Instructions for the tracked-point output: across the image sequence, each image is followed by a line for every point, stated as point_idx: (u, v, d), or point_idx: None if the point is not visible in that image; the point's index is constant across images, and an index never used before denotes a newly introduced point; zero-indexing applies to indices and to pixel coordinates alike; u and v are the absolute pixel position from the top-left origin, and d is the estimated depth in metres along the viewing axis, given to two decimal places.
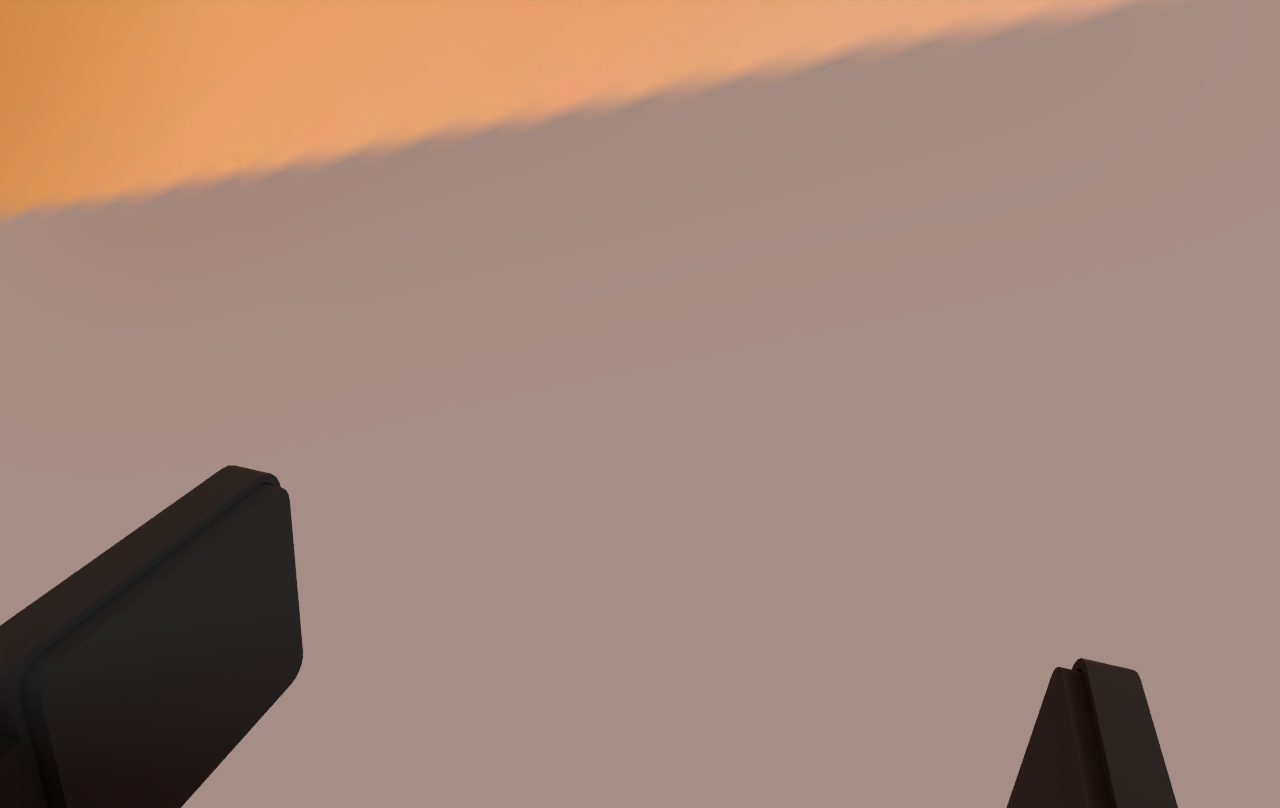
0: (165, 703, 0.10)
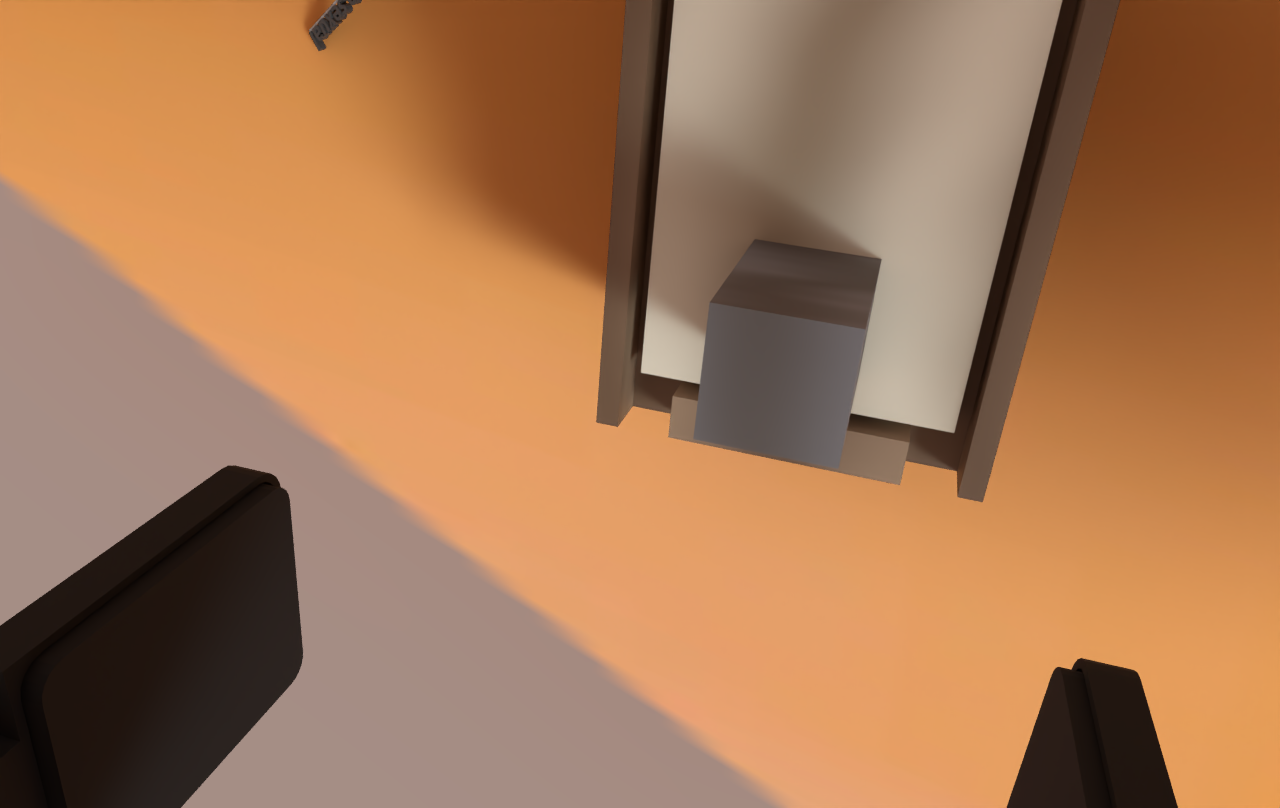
0: (165, 703, 0.10)
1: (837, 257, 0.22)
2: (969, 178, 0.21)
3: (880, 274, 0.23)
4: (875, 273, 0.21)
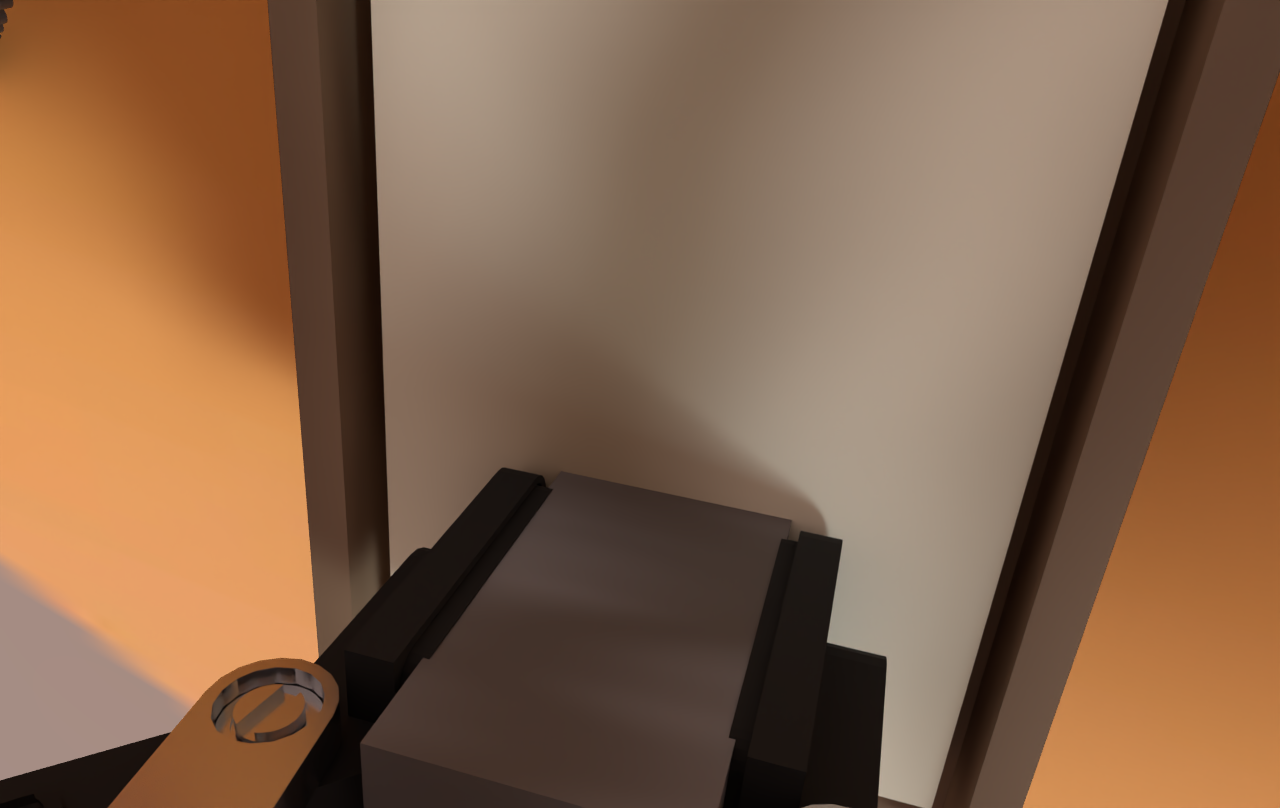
0: None
1: (706, 521, 0.12)
2: (955, 390, 0.11)
3: None
4: (769, 574, 0.11)
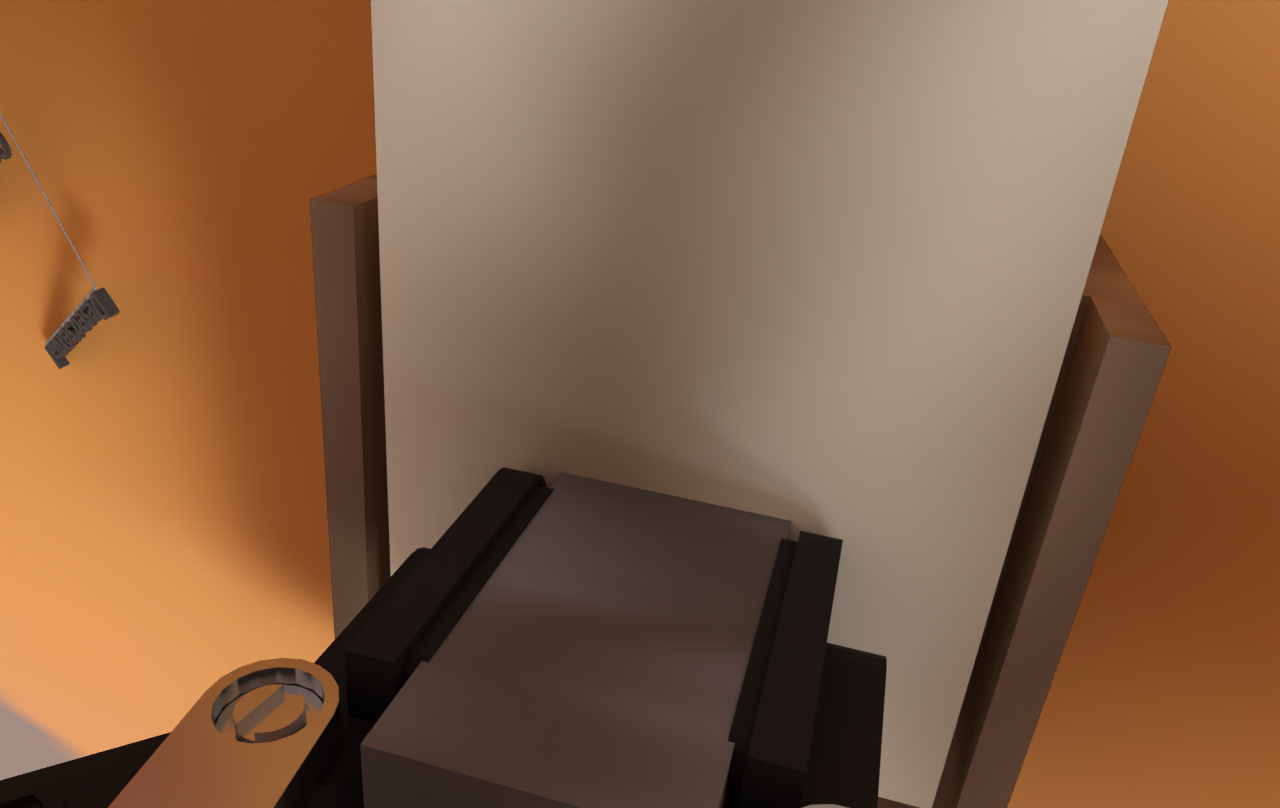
0: None
1: (706, 523, 0.12)
2: (955, 390, 0.11)
3: None
4: (770, 574, 0.11)
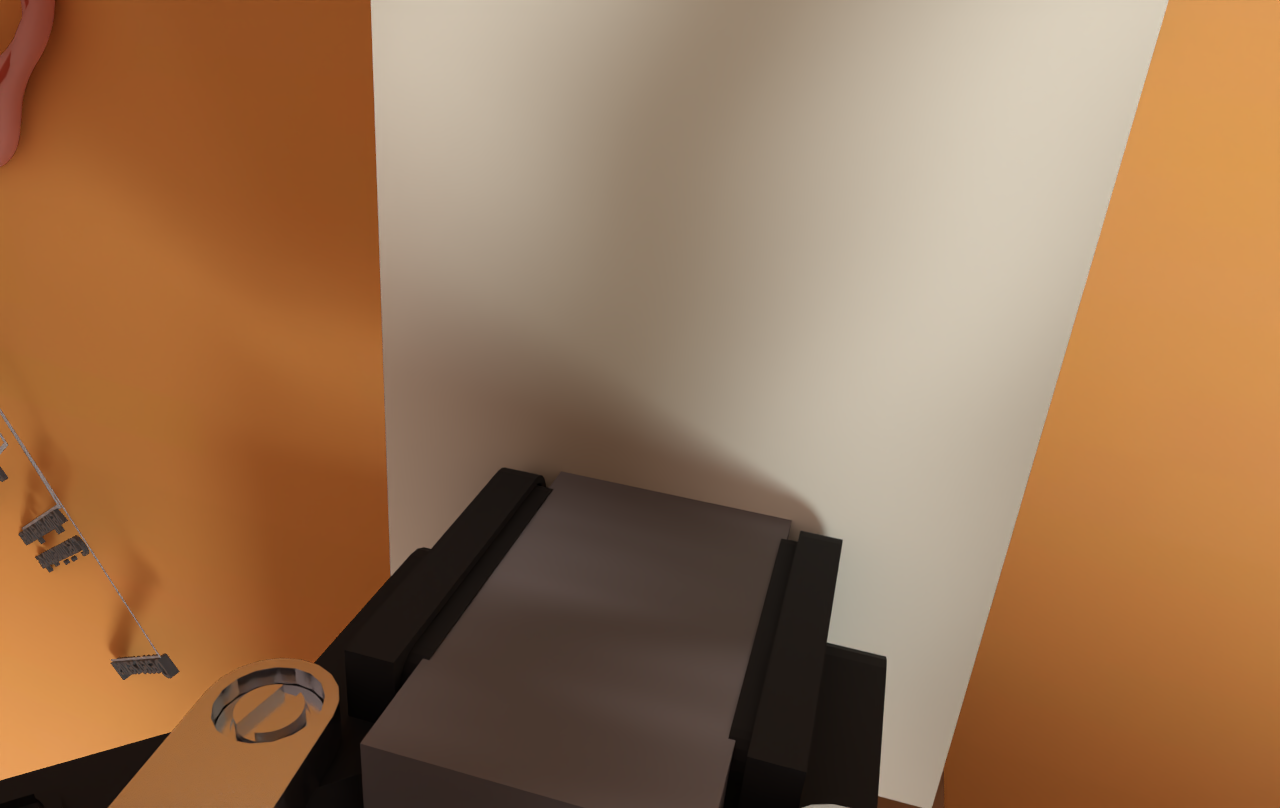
0: None
1: (706, 521, 0.12)
2: (956, 389, 0.11)
3: None
4: (770, 574, 0.11)
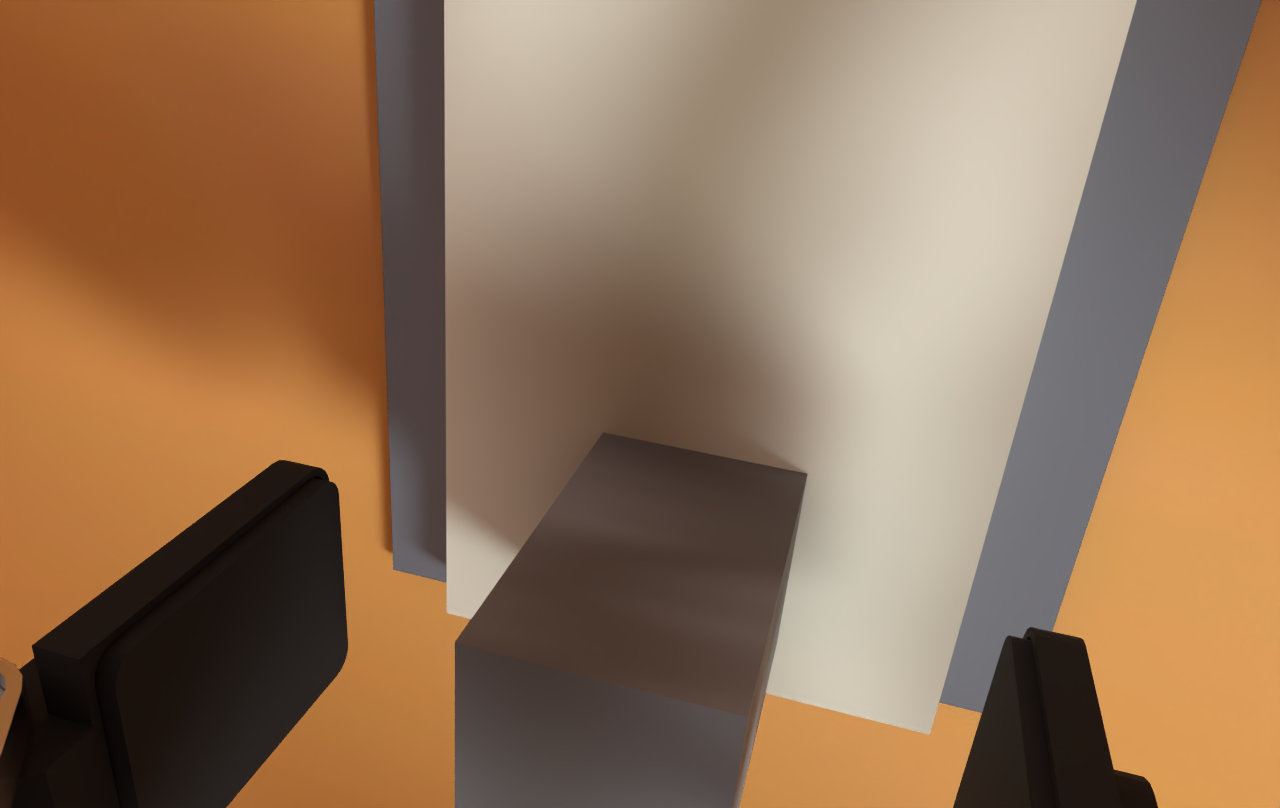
0: (224, 692, 0.10)
1: (733, 474, 0.13)
2: (950, 356, 0.12)
3: (806, 496, 0.14)
4: (790, 517, 0.12)
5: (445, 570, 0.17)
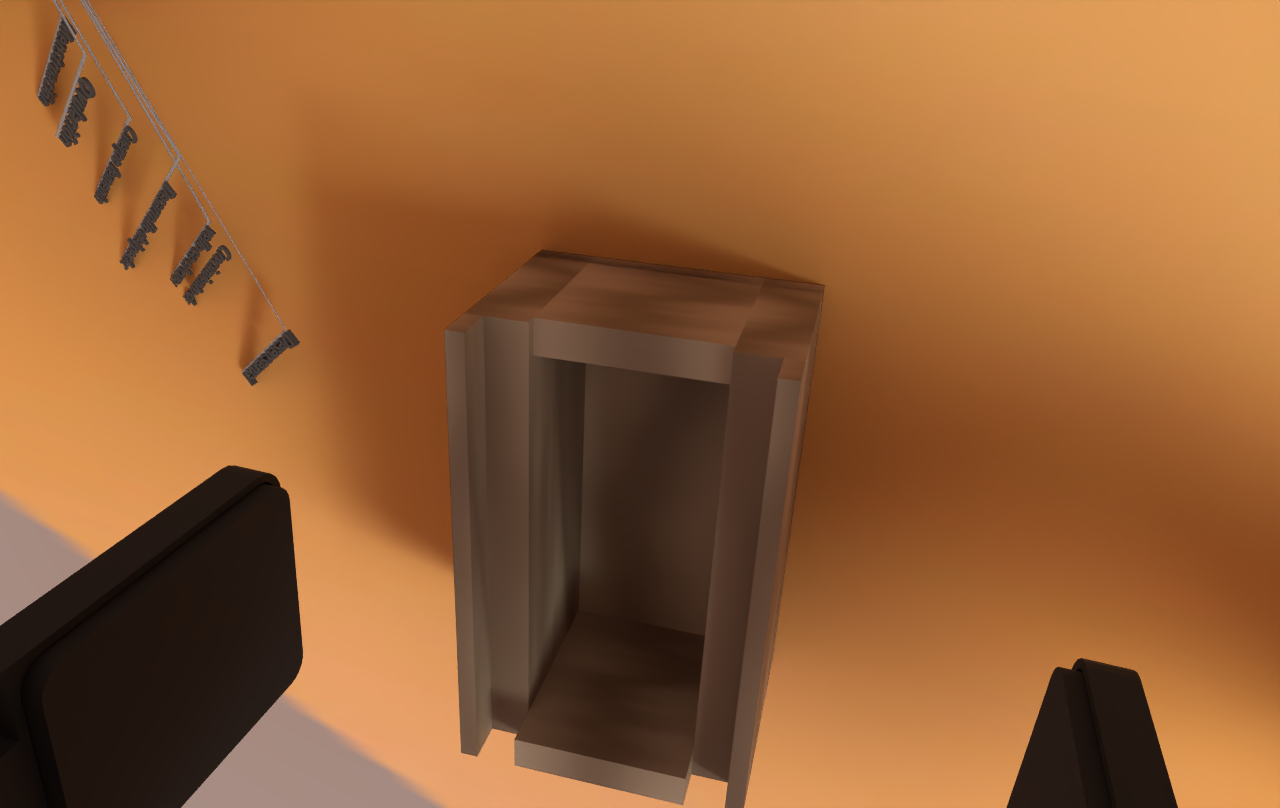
0: (165, 703, 0.10)
1: None
2: None
3: None
4: None
5: None
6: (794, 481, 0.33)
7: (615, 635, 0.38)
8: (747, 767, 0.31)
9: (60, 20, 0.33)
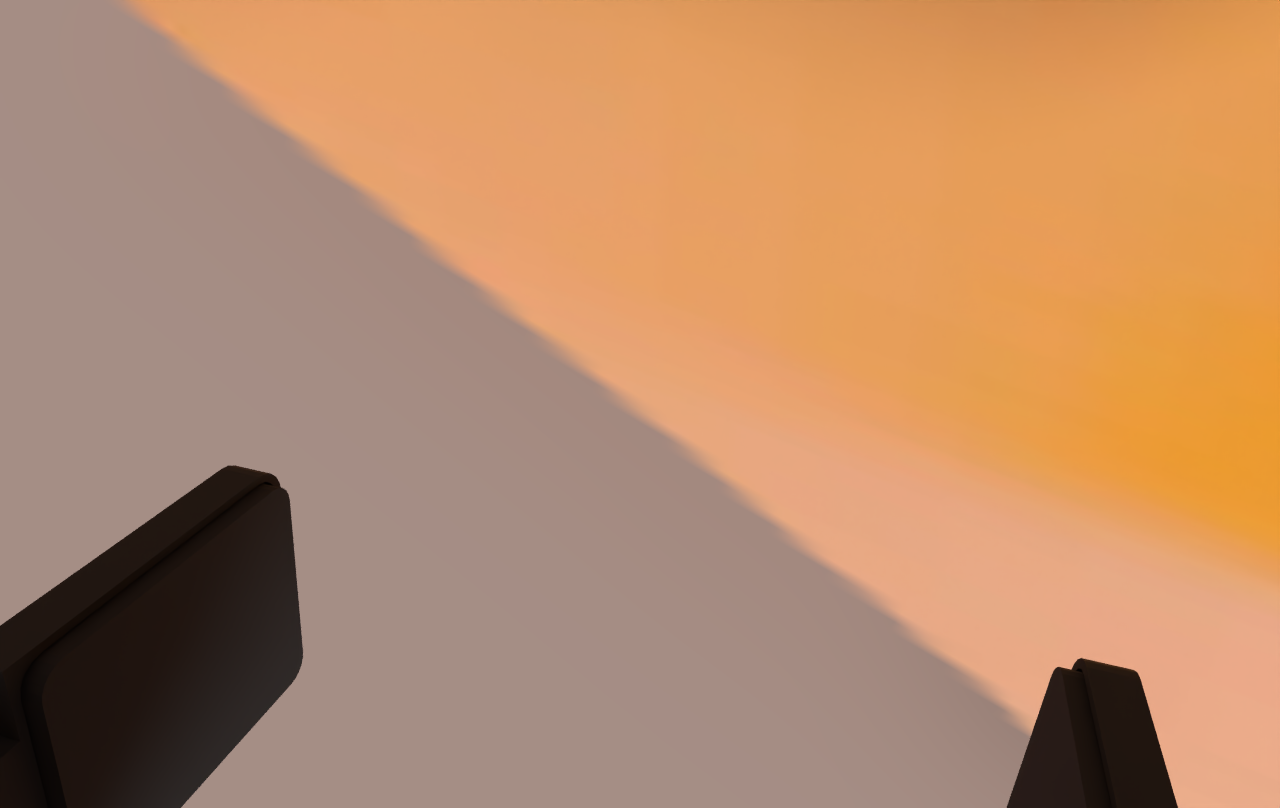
0: (165, 703, 0.10)
1: None
2: None
3: None
4: None
5: None
6: None
7: None
8: None
9: None
